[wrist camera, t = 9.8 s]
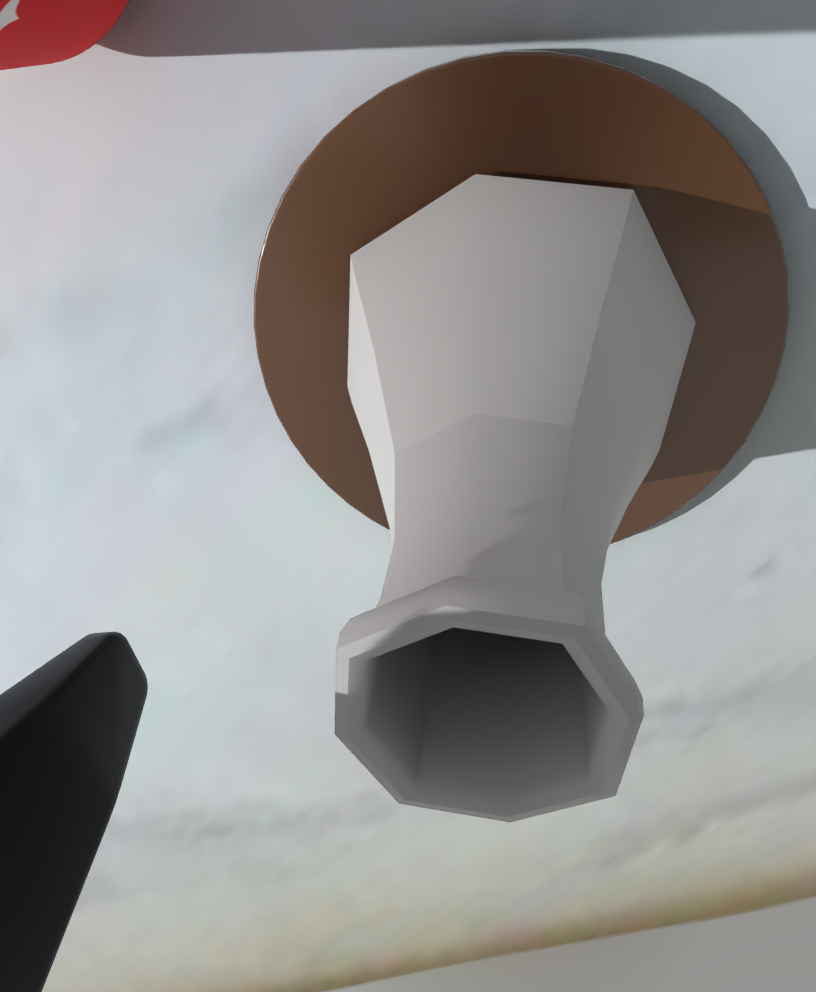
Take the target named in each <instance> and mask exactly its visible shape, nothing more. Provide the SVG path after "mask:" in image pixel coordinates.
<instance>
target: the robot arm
mask: <svg viewBox="0 0 816 992" xmlns="http://www.w3.org/2000/svg"><path fill="white" fill-rule="evenodd" d="M147 689H148V685H147V678H146V675H145V673H144V671H143V669H142V667H141V665H140V663H139V661H138V660H137V658H136V656H135V654H134V652H133V650H132V648H131V646H130V644H129V643H128V641H127V639H126V638H125V637H124V636H123V635H122V634H121V633H118V632H104V633H93V634H89V635H87V636H85V637H84V638H82V639H81V640H79V641H78V642H76V643H75V644H74V645H72V646H71V647H69V648H68V649H66V650H65V651H63V652H62V653H60V654H59V655H58V656H56V657H55V658H53V659H52V660H50V661H49V662H47V663H46V664H44V665H43V666H42V667H40V668H39V669H37V670H36V671H34V672H33V673H31V674H30V675H28V676H27V677H26V678H24V679H23V680H21V681H20V682H18V683H17V684H15V685H14V686H12V687H11V688H10V689H8V690H7V691H5V692H4V693H2V694H1V695H0V992H42V989H43V987H44V984H45V982H46V979H47V977H48V974H49V972H50V969H51V966H52V964H53V961H54V959H55V956H56V954H57V951H58V949H59V946H60V944H61V941H62V939H63V936H64V933H65V931H66V928H67V926H68V923H69V921H70V918H71V916H72V913H73V911H74V908H75V906H76V903H77V901H78V898H79V895H80V893H81V890H82V888H83V885H84V883H85V880H86V878H87V875H88V873H89V870H90V868H91V865H92V862H93V860H94V857H95V855H96V852H97V850H98V847H99V845H100V842H101V840H102V837H103V835H104V832H105V830H106V827H107V824H108V822H109V819H110V817H111V814H112V811H113V808H114V806H115V803H116V800H117V797H118V793H119V790H120V787H121V784H122V781H123V777H124V774H125V770H126V766H127V763H128V759H129V756H130V752H131V749H132V745H133V742H134V738H135V735H136V731H137V728H138V724H139V721H140V717H141V714H142V710H143V707H144V703H145V700H146V696H147Z"/></svg>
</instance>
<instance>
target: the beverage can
mask: <svg viewBox="0 0 816 992" xmlns="http://www.w3.org/2000/svg"><path fill="white" fill-rule="evenodd" d="M128 1H129V0H0V70H5V69H12V68H20V67H28V66H36V65H43V64H50V63H55V62H60V61H63V60H66V59H69V58H72V57H74V56H76V55H78V54H80V53H82V52H84V51H85V50H87V49H89V48H90V47H92V46H93V45H94V44H96V43H97V42H98V41H99V40H100V39H101V38H102V37H103V36H105V35H106V34H107V32H108V31H109V30H110V29H111V28H112V27H113V26H114V24H115V23H116V21H117V20H118V18H119V17H120V16H121V14H122V12H123V10H124V9H125V7H126V5H127V3H128Z"/></svg>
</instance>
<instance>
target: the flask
mask: <svg viewBox="0 0 816 992" xmlns="http://www.w3.org/2000/svg"><path fill="white" fill-rule="evenodd" d="M695 324H696V322H695V319H694V317H693V315H692V313H691V311H690V309H689V307H688V305H687V302H686V300H685V298H684V296H683V294H682V292H681V290H680V288H679V285H678V283H677V281H676V279H675V277H674V275H673V273H672V271H671V268H670V266H669V264H668V262H667V260H666V258H665V256H664V254H663V251H662V249H661V247H660V245H659V243H658V241H657V239H656V237H655V234H654V232H653V230H652V228H651V226H650V224H649V222H648V220H647V217H646V215H645V213H644V211H643V209H642V207H641V205H640V203H639V200H638V198H637V196H636V194H635V192H634V190H631V189H621V188H611V187H600V186H590V185H580V184H570V183H560V182H550V181H540V180H530V179H520V178H510V177H500V176H490V175H479V174H475V175H473V176H472V177H470V178H469V179H467V180H466V181H464V182H462V183H461V184H459V185H458V186H456V187H455V188H453V189H452V190H450V191H449V192H447V193H445V194H444V195H442V196H441V197H439V198H438V199H436V200H435V201H433V202H432V203H430V204H428V205H427V206H425V207H424V208H422V209H421V210H419V211H418V212H416V213H415V214H413V215H411V216H410V217H408V218H407V219H405V220H404V221H402V222H401V223H399V224H398V225H396V226H394V227H393V228H391V229H390V230H388V231H387V232H385V233H384V234H382V235H381V236H379V237H377V238H376V239H374V240H373V241H371V242H370V243H368V244H367V245H365V246H364V247H362V248H360V249H359V250H357V251H356V252H354V253H353V254H351V258H350V299H349V340H348V381H347V387H348V391H349V394H350V398H351V402H352V405H353V408H354V410H355V413H356V416H357V419H358V422H359V424H360V427H361V430H362V433H363V436H364V438H365V441H366V444H367V447H368V450H369V452H370V456H371V460H372V464H373V467H374V471H375V475H376V479H377V482H378V486H379V490H380V494H381V497H382V501H383V505H384V508H385V512H386V516H387V520H388V523H389V527H390V561H389V566H388V570H387V574H386V578H385V582H384V586H383V590H382V594H381V598H380V600H379V602H378V604H377V607H376V608H375V609H372V610H370V611H367V612H365V613H363V614H360V615H358V616H355V617H353V618H351V619H350V620H349V621H348V622H347V624H346V625H345V627H344V628H343V629H342V631H341V632H340V635H339V639H338V644H337V648H336V691H335V735H336V736H337V737H338V738H339V739H340V740H341V741H342V742H343V743H344V745H345V746H346V747H347V748H348V749H349V750H350V751H351V752H352V753H353V754H354V755H355V756H356V758H357V759H358V760H359V761H360V762H361V763H362V764H363V765H364V766H365V767H366V768H367V769H368V770H369V772H370V773H371V774H372V775H373V776H374V777H375V778H376V779H377V780H378V781H379V782H380V783H381V785H382V786H383V787H384V788H385V789H386V790H387V791H388V792H389V793H390V794H391V795H392V796H393V798H394V799H395V800H396V801H397V802H398V803H400V804H406V805H412V806H417V807H423V808H429V809H435V810H441V811H447V812H453V813H458V814H464V815H470V816H476V817H482V818H488V819H494V820H500V821H505V822H513V821H517V820H521V819H525V818H529V817H533V816H537V815H541V814H545V813H549V812H553V811H557V810H561V809H565V808H569V807H573V806H577V805H581V804H585V803H589V802H593V801H597V800H601V799H605V798H609V797H612V796H616V793H617V790H618V787H619V784H620V782H621V779H622V776H623V773H624V770H625V767H626V764H627V762H628V759H629V756H630V753H631V750H632V747H633V744H634V742H635V739H636V736H637V733H638V730H639V727H640V724H641V722H642V719H643V716H644V712H643V697H642V695H641V693H640V691H639V689H638V687H637V684H636V682H635V680H634V679H633V677H632V675H631V674H630V672H629V671H628V669H627V668H626V666H625V665H624V663H623V662H622V660H621V659H620V657H619V655H618V654H617V652H616V651H615V649H614V648H613V646H612V645H611V643H610V642H609V640H608V639H607V637H606V635H605V627H604V614H603V601H602V588H601V582H602V576H603V570H604V564H605V558H606V552H607V549H608V547H609V545H610V543H611V541H612V538H613V536H614V534H615V532H616V530H617V528H618V526H619V524H620V521H621V519H622V517H623V515H624V513H625V511H626V509H627V507H628V505H629V503H630V501H631V500H632V498H633V496H634V495H635V493H636V491H637V490H638V488H639V486H640V484H641V483H642V481H643V479H644V478H645V476H646V474H647V473H648V471H649V469H650V468H651V466H652V464H653V462H654V460H655V458H656V456H657V454H658V452H659V450H660V446H661V443H662V439H663V436H664V432H665V429H666V425H667V422H668V418H669V415H670V411H671V408H672V404H673V401H674V397H675V394H676V390H677V387H678V383H679V380H680V376H681V373H682V369H683V366H684V362H685V359H686V355H687V352H688V348H689V345H690V341H691V338H692V334H693V331H694V327H695Z"/></svg>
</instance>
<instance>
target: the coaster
mask: <svg viewBox="0 0 816 992" xmlns="http://www.w3.org/2000/svg"><path fill="white" fill-rule="evenodd" d="M475 174H479V175H490V176H500V177H510V178H520V179H530V180H540V181H550V182H560V183H570V184H580V185H590V186H600V187H611V188H621V189H631V190H634V192H635V194H636V196H637V198H638V200H639V203H640V205H641V207H642V209H643V211H644V213H645V215H646V217H647V220H648V222H649V224H650V226H651V228H652V230H653V232H654V234H655V237H656V239H657V241H658V243H659V245H660V247H661V249H662V251H663V254H664V256H665V258H666V260H667V262H668V264H669V266H670V268H671V271H672V273H673V275H674V277H675V279H676V281H677V283H678V285H679V288H680V290H681V292H682V294H683V296H684V298H685V300H686V302H687V305H688V307H689V309H690V311H691V313H692V315H693V317H694V319H695V322H696V324H695V327H694V331H693V334H692V338H691V341H690V345H689V348H688V352H687V355H686V359H685V362H684V366H683V369H682V373H681V376H680V380H679V383H678V387H677V390H676V394H675V397H674V401H673V404H672V408H671V411H670V415H669V418H668V422H667V425H666V429H665V432H664V436H663V439H662V443H661V446H660V450H659V452H658V454H657V456H656V458H655V460H654V462H653V464H652V466H651V468H650V469H649V471H648V473H647V474H646V476H645V478H644V479H643V481H642V483H641V484H640V486H639V488H638V490H637V491H636V493H635V495H634V496H633V498H632V500H631V501H630V503H629V505H628V507H627V509H626V511H625V513H624V515H623V517H622V519H621V521H620V524H619V526H618V528H617V530H616V532H615V534H614V536H613V538H612V541H611V543H614V542H617V541H620V540H623V539H625V538H627V537H629V536H631V535H633V534H636V533H638V532H640V531H642V530H644V529H646V528H648V527H650V526H652V525H654V524H655V523H657V522H659V521H660V520H662V519H663V518H665V517H666V516H668V515H670V514H671V513H673V512H674V511H676V510H678V509H679V508H680V507H682V506H683V505H684V504H685V503H687V502H688V501H689V500H690V499H692V498H693V497H694V496H695V495H697V494H698V493H699V492H700V491H702V490H703V489H704V488H705V487H706V486H707V485H708V484H709V483H710V482H711V481H712V480H713V479H714V478H715V477H716V476H717V475H718V474H719V473H720V472H721V471H722V470H723V469H724V468H725V467H726V465H727V464H728V463H729V461H730V460H731V459H732V458H733V456H734V455H735V454H736V452H737V451H738V450H739V449H740V447H741V446H742V445H743V443H744V442H745V441H746V439H747V437H748V436H749V434H750V432H751V430H752V429H753V427H754V425H755V424H756V422H757V420H758V419H759V417H760V415H761V413H762V412H763V409H764V407H765V405H766V402H767V400H768V397H769V395H770V393H771V390H772V388H773V386H774V383H775V381H776V377H777V374H778V370H779V366H780V363H781V359H782V355H783V352H784V348H785V340H786V332H787V324H788V316H789V294H788V273H787V267H786V262H785V256H784V251H783V245H782V240H781V237H780V234H779V231H778V228H777V225H776V222H775V219H774V216H773V213H772V210H771V208H770V205H769V203H768V201H767V199H766V197H765V195H764V193H763V191H762V190H761V188H760V186H759V184H758V182H757V180H756V178H755V176H754V174H753V173H752V171H751V169H750V168H749V167H748V165H747V164H746V163H745V161H744V160H743V159H742V157H741V156H740V155H739V153H738V152H737V151H736V149H735V148H734V147H733V145H732V144H731V143H730V141H729V140H728V139H727V138H726V137H725V136H724V135H723V134H722V133H721V132H720V131H719V130H718V129H717V128H716V127H715V126H714V125H713V124H712V123H710V122H709V121H708V120H707V119H706V118H705V117H704V116H703V115H702V114H701V113H700V112H699V111H698V110H696V109H695V108H693V107H692V106H691V105H689V104H688V103H686V102H685V101H683V100H682V99H681V98H679V97H678V96H676V95H675V94H673V93H672V92H670V91H669V90H668V89H666V88H665V87H663V86H662V85H659V84H657V83H655V82H653V81H651V80H649V79H647V78H645V77H643V76H641V75H639V74H637V73H635V72H633V71H631V70H629V69H627V68H624V67H620V66H617V65H614V64H611V63H607V62H604V61H601V60H598V59H594V58H591V57H588V56H582V55H575V54H568V53H561V52H554V51H548V50H510V51H499V52H492V53H486V54H480V55H473V56H467V57H462V58H459V59H456V60H453V61H450V62H446V63H443V64H440V65H437V66H434V67H430V68H427V69H425V70H422V71H420V72H418V73H416V74H414V75H412V76H410V77H408V78H406V79H404V80H402V81H400V82H397V83H395V84H393V85H391V86H389V87H388V88H386V89H384V90H383V91H381V92H380V93H378V94H377V95H375V96H374V97H373V98H371V99H370V100H368V101H367V102H365V103H364V104H362V105H361V106H359V107H358V108H356V109H355V110H353V111H352V112H351V113H350V114H349V115H348V116H347V117H346V118H344V119H343V120H342V121H341V122H340V123H339V124H338V125H337V126H336V127H334V128H333V129H332V130H331V131H330V132H329V133H328V134H327V135H326V136H325V137H324V138H323V139H322V140H321V141H320V143H319V144H318V145H317V146H316V148H315V149H314V150H313V151H312V152H311V154H310V155H309V156H308V157H307V158H306V160H305V161H304V162H303V163H302V164H301V166H300V167H299V169H298V171H297V172H296V174H295V175H294V177H293V179H292V180H291V182H290V184H289V185H288V187H287V188H286V190H285V192H284V193H283V195H282V197H281V199H280V201H279V204H278V206H277V208H276V211H275V213H274V215H273V217H272V220H271V222H270V224H269V227H268V229H267V233H266V236H265V240H264V243H263V247H262V251H261V254H260V258H259V262H258V269H257V276H256V283H255V290H254V330H255V338H256V346H257V354H258V359H259V363H260V367H261V371H262V374H263V378H264V382H265V386H266V389H267V391H268V394H269V396H270V399H271V401H272V404H273V406H274V409H275V411H276V414H277V416H278V418H279V419H280V421H281V423H282V425H283V427H284V428H285V430H286V432H287V434H288V436H289V438H290V439H291V441H292V442H293V444H294V445H295V447H296V448H297V449H298V451H299V452H300V454H301V455H302V456H303V458H304V459H305V461H306V462H307V463H308V465H309V466H310V467H311V468H312V469H313V470H314V471H315V472H316V473H317V474H318V476H319V477H320V478H321V479H322V480H323V481H324V482H325V483H326V484H327V485H328V486H329V487H330V488H331V489H332V490H333V491H335V492H336V493H337V494H338V495H339V496H340V497H341V498H343V499H344V500H345V501H346V502H347V503H348V504H349V505H351V506H352V507H354V508H355V509H357V510H358V511H360V512H361V513H362V514H364V515H365V516H367V517H368V518H370V519H371V520H373V521H374V522H376V523H378V524H380V525H382V526H384V527H385V528H387V529H389V530H390V527H389V523H388V520H387V516H386V512H385V508H384V505H383V501H382V497H381V494H380V490H379V486H378V482H377V479H376V475H375V471H374V467H373V464H372V460H371V456H370V452H369V450H368V447H367V444H366V441H365V438H364V436H363V433H362V430H361V427H360V424H359V422H358V419H357V416H356V413H355V410H354V408H353V405H352V402H351V398H350V394H349V391H348V387H347V381H348V340H349V299H350V258H351V254H353V253H354V252H356V251H357V250H359V249H360V248H362V247H364V246H365V245H367V244H368V243H370V242H371V241H373V240H374V239H376V238H377V237H379V236H381V235H382V234H384V233H385V232H387V231H388V230H390V229H391V228H393V227H394V226H396V225H398V224H399V223H401V222H402V221H404V220H405V219H407V218H408V217H410V216H411V215H413V214H415V213H416V212H418V211H419V210H421V209H422V208H424V207H425V206H427V205H428V204H430V203H432V202H433V201H435V200H436V199H438V198H439V197H441V196H442V195H444V194H445V193H447V192H449V191H450V190H452V189H453V188H455V187H456V186H458V185H459V184H461V183H462V182H464V181H466V180H467V179H469V178H470V177H472V176H473V175H475ZM611 543H610V544H611Z"/></svg>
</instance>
